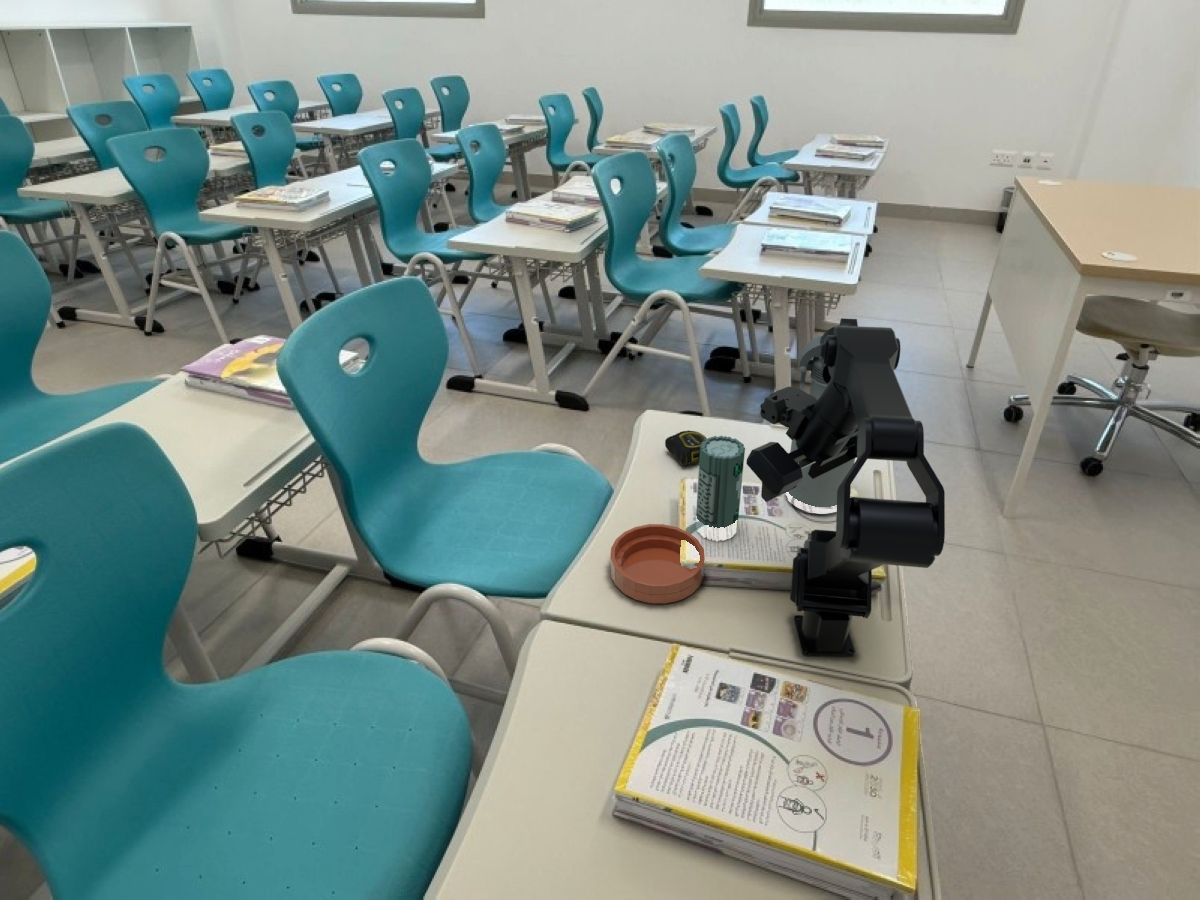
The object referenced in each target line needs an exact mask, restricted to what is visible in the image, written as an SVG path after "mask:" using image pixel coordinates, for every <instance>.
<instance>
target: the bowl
mask: <svg viewBox="0 0 1200 900" xmlns="http://www.w3.org/2000/svg"><path fill="white" fill-rule="evenodd" d="M681 540H686V541H687V542H689V543H690V544H692V545H693V546H695V548H696V550H697V551H698V552H699V555H700V561H699V563H698V566H697V568H693V569H689V568H685V567H682V566H681V563H680V547H681ZM705 560H706V557H705V549H704V547H703V545H702V544H701V542H700V541H699V539H698V538H697V537H696V536H694V535H693V534H692V533H691V532H689V531H686V530H684V529H682V528H681V527H678V526H673V525H669V524H664V523H648V524H643V525H638V526H634V527H632V528H630V529H628V530H626V531H624V532H623V533H621V534H620V535H619V536H618V537H617V538H616V539H615V540H614V542H613V544H612V546H611V547H610V576H611V579H612V582H613V584H614V585H615V587H617V588H618V589H619V591H621V592H622V593H623V594H624V595H626V596H628V597H630V598H632V599H634V600H636V601H639V602H644V603H648V604H670V603H673V602H678V601H682V600H683V599H686V598H688V597H689V596H691V595H693V594H694V592H695V591H697V590H698V589H699V588H700V587H701V584H702V582H703V579H704V576H705V563H704V561H705ZM703 572H704V574H703Z"/></svg>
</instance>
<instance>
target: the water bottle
mask: <svg viewBox="0 0 1200 900" xmlns="http://www.w3.org/2000/svg"><path fill="white" fill-rule="evenodd" d="M822 336H823V335H819V336H817V337H814V338H812V339H811V340H809V341H808V342H807V343H806V344H805V345H804V346H803V348H802V350H801V352H800V356H799V364H798V372H799V373H800V379H799V385H798V389H800V390H802V391H804V392H805V382H806V377H807V372H810V379H811V381H810V388H809V394H810V395H811V396H813V397H815V398H816V400H818V399H819V398H820V396H821V394H822V393H823V391H824V390H825V388H826V386H827V385H828V383H826V382H825V381H824V379H823V376H822V364H821V363H820V362H819V357H815V351H816V347H817V346H819V345H820V339H821V337H822ZM797 449H798V448H797V446H796V440H795V439H794V440H791V443H790V450H789V451H790V452H792V451H794V450H797ZM790 452H789V453H790ZM855 462H856V458H855V459H853V460H851V461H849V462H847V463H845V464H843V465H841V466H839V467H837V468H834V469H832V470H830V471H828V472H826V473H824V474H822V475H820V476H818V477H816V478H814V479H812V478H811V477H810V476H809V475H808V472H809V469H810V467H811V465H812V464H811V465H809V466H807V467H805V468H802V469H801V470H802V475H803V478H802V479H801V481H800V482H799V483H798V484H797V485H796V486H797V487H796V488H794V489H792V490H790V491H788V492H789V494H790V495H791V496H793V498H795V499H797V500H798V501H801V502H803V503H805V504H808V505H811V506H815V507H817V506H818V507H831V506H835V505H837V490H838V487H839V486H840V484H841V483H842V481H843V480H844V478H845V477H846V475H847V474H848V472H849V471H850V469H851V468H852V466H853V465H854V463H855Z"/></svg>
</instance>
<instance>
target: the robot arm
mask: <svg viewBox="0 0 1200 900" xmlns="http://www.w3.org/2000/svg"><path fill="white" fill-rule="evenodd" d="M858 325H859V324H858V318H843V317H842V318H840V320H839V324H838V325H835V326H833V327H831V328H829V329H828V330H826V331H825V332H824V333H823V334H822V335H821V336H822V337H821V339H820V345H819V346H817V347H816V351H815V357H819V362H820V363H821V364H822V376H823V379H824V381H825V382H826V383H828V385H827V386H826V388H825V390H824V391H823V393H822V394H821V396H820V398H819V399H818V400H816V398H815V397H813V396H811V395H810V393H807V392H806V391H805V390H804V391H802V390H800V389H799V387H796V386H786V387H783V388H781V389H778V390H776V391H774V392H771V393H770V394H769V396H766V397H765V398H764V401H763V402H762V403H761V404H760V412H759V414H760V417H761V418H762V419H763V420H765V421H767V422H768V423H770V424H772V425H776V424H779V425H781V426H783V427H785V428H787V430H786V432H785V435H786V436H787V437H788V438H789V439H790V440H791V441H792V440H794V439H795V440H796V446H797V448H798V449H797V450H794V451H792V452H788V451H786V449H785V448H784V447H783V446H782V445H781V444H780V443H779V442H778V441H769V442H767V443H764V444H763V445H760V446H758V447H756V448H754V449H751V451H750V453H749V454H748V456H747V458H746V465H747V466H748V468H749V469H750V470H751V471H752V473H754V475H755V476H756V477H757V478H758V479H759V480H760V481H761V493H760V496H761V497H760V498H762V500H764V502H765V503H768V502H769V501H772V500H774V499H776V498H778V497H780V496H782V495H785V493H786V492H788V491H790V490H792V489H794V488H796V487H797V486H796V485H797V484H798V483H799V482H800V481H801V479H802V478H803V475H802V470H801V469H802V468H805V467H807V466H809V465H811V464H812V465H811V467H810V469H809V472H808V475H809V476H810V477H811V478H812V479H814V478H816V477H818V476H820V475H822V474H824V473H826V472H828V471H830V470H832V469H834V468H837V467H839V466H841V465H843V464H845V463H847V462H849V461H851V460H853V459H855V462H854V465H853V466H852V468H851V469H850V471H849V472H848V474H847V475H846V477H845V478H844V480H843V481H842V483H841V484H840V486H839V487H838V490H837V512H836V513H835V515H836V520H835V530H827V529H813V530H811V532H810V533H807V539H806V540H804V542H803V547H798V550H797V552H796V554H795V556H794V558H792V568H791V586H790V594H789V600H790V601H791V602H792V603H793V604H795V607H796V612H800V613H802V612H803V614H796V615H794V616H793V623H794V628H795V631H796V635H797V639H798V640H797V641H798V643H799V647H800V651H801V654H802V655H804V656H810V657H811V656H813V657H815V656H816V657H827V656H828V657H853V656H855V654H856V650H855V646H854V644H853V641H852V637H851V635H850V627H851V623H852V619H853V617H861V618H862V619H863V618H864V619H868V618H869V616H870V615H871V612H872V588H873V587H872V583H873V582H872V580H873V576H872V575H873V570H875V569H877V568H880V567H882V566H885V565H887V566H899V567H910V568H911V567H912V568H923V569H928V568H929V567H931V566H932V565H933V564H934V562H935V560H936V557H939V556H941V554H942V552H943V550H944V546H945V537H946V536H945V535H946V519H945V518H946V515H945V514H946V511H945V510H946V507H945V506H946V502H945V500H946V499H945V497H946V493H945V488H944V486H943V485H942V482H941V481H940V479H939V477H938V476H937V474H936V472H935V471H934V469H933V468H932V466H931V464H930V463H929V461H928V459H927V458H926V456H925V433H924V431H925V430H924V424H923V422H922V421H921V420H915V418H914V417H913V415H912V412H911V410H910V408H909V405H908V403H907V400H906V398H905V395H904V393H903V390H902V387H901V385H900V383H899V380H898V378H897V374H896V373H895V370H896V369H898V367H899V366H898V365H899V363H900V358H901V340H900V338H899V337H897V336H896V333H895V331H894V329H893V328H892V327H883V326H881V327H880V326H858ZM867 460H878V461H891V462H892V461H893V462H894V461H895V462H906V465H907V467H908V469H909V471H910V472H911V474H912V476H913V477H914V479H915V481H916V483H917V484H918V486H919V488H920V489H921V492H922V493H923V494H924V496H925V501H915V500H914V501H913V500H900V499H885V498H884V499H883V498H872V497H859V496H851V488H852V487H851V485H852V483H853V481H854V480H855V479H856V477H857V475H858V474H859V473H860V471H861V470H862V468H863V467H864V466H865V464H866V462H867Z"/></svg>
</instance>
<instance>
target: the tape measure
mask: <svg viewBox="0 0 1200 900" xmlns="http://www.w3.org/2000/svg"><path fill="white" fill-rule="evenodd" d="M704 439H707V437H706V435H704V434H703V433H701V432H699V431H697V430H696V431H695V430H682V431H679V432H677V433H675V434H672V435H670V436H668V437H667V438H666V439H665V440H664V446H665V448H666V450H667V451H668V452H669V453H670V454H672V455H673V456H674V457H675V459H676V460H677V461H678V462H679V463H680V464H681V465H682V466H684V467H685V466H687V465H690V464H691V463H699V457H700V446H701V442H704Z"/></svg>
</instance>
